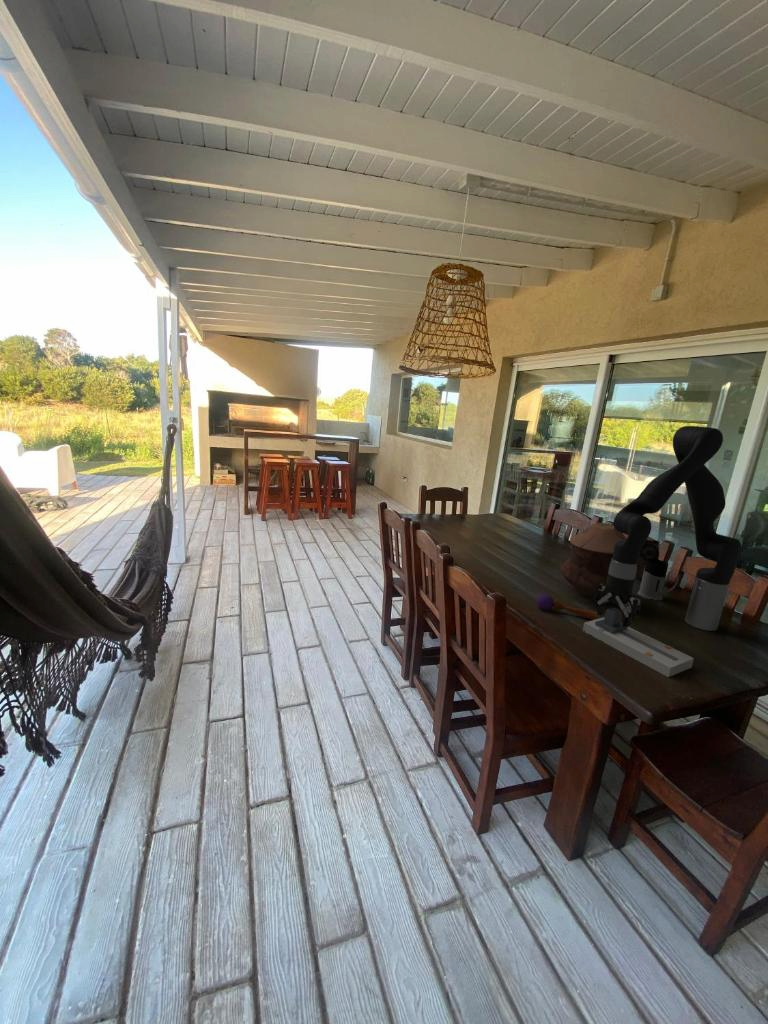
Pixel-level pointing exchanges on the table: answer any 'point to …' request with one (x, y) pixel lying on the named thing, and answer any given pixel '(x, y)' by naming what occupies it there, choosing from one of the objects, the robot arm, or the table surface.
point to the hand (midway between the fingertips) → (612, 620)
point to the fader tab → (611, 621)
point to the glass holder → (655, 579)
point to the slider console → (642, 649)
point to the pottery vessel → (591, 558)
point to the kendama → (562, 606)
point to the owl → (646, 556)
